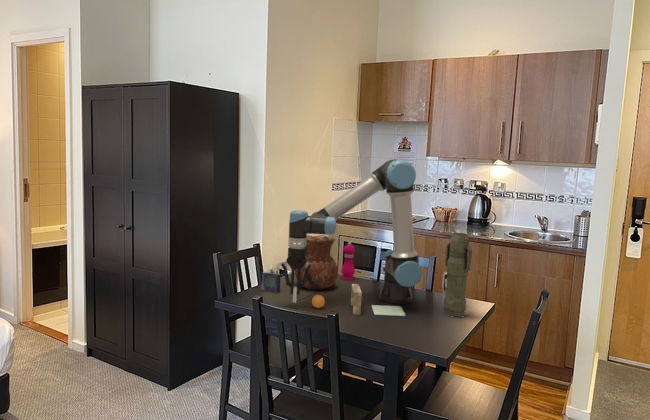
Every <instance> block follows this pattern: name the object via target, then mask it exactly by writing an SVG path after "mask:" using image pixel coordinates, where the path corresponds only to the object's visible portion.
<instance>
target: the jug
mask: <svg viewBox="0 0 650 420" xmlns="http://www.w3.org/2000/svg"><path fill="white" fill-rule="evenodd" d="M335 241H336V238H335V237H331V236H328V235H326V234H317V235H311V234H307V240H306V247H305V248H306V260H307V262H308V263H309V264H311V268H310V269H309V270H308V274H307V277H306V280H305V284H304V286H301V287H303V288H305V289H308V290H313V291H315V290H316V291H318V290H319V291H321V290H327V289H329V288H331V287H332V286H333V285H334V284H335V282H336V280H337V279H338V276H339V267H338V265H337V263H336V261H335V259H333V257H332V256H331V250H332V246H333V244H334V242H335ZM305 266H306V264H305V265H304V266H303V267H302V268H301V272H300V283H302V280H303V276H304V273H305V270H306V267H305ZM297 273H298V269H295V271H294V276H295V277H296V279H297Z"/></svg>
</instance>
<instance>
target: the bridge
mask: <svg viewBox="0 0 650 420" xmlns="http://www.w3.org/2000/svg"><path fill="white" fill-rule="evenodd" d="M350 292H351V293H350V306H352V315H356V316H357V315H359V316H360V315H361V311H362V309H361V307H362V294H363V293H362V290H361V287H360V284H359V283H352V284H351V291H350Z"/></svg>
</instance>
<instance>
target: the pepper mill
mask: <svg viewBox="0 0 650 420" xmlns="http://www.w3.org/2000/svg"><path fill="white" fill-rule="evenodd" d="M343 252H344V262H343V265H342V267H341V269H340V271H341V274H342V275H341V279H342V280H343V281H347V280H348V281H349V282H350V281H353V280H354V275H355V273H356V270H355V266H354V262H353V258H354V255H355V254H354V253H355V252H356V247H355V246H354V245H353V244H352V242H351V241H348V243H347V244H346V245H345V246H344V247H343ZM348 281H347V282H348Z"/></svg>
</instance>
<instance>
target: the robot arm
mask: <svg viewBox="0 0 650 420" xmlns="http://www.w3.org/2000/svg"><path fill="white" fill-rule="evenodd" d="M369 174H370V175H369V176H368V177H367V178H366V179H364V180H363V181H361V182H360V183H358V184H357V185H355V186H354V187H352V188H351V189H349V190H348V191H346V192H345V193H343V194H342V195H341V196H339V197H338V198H335V200H333V201H331V202H329V204H327V205H326V206H324V207H322V208H321V209H319V210H318V211H315V212H313V213H312V214H311V215H309V213H308V211H307V210H302V209H301V210H298V209H297V210H296V209H295V210H291V211H290V213H289V220H288V222H289V223H288V224H289V225H288V241H287V242H288V245H287V246H288V247H287V248H288V249H287V258H286V260H285V261H282V262H281V265H280V266H281V267H282V269H283V272H284V273H283V274H284V278H285V283H286V286H288V287H290V295H292V303H293V304H294V303H295V304H296V303H297V297H298V295H300V293H301V292H300V291H301V289H300V288H301V287H302V286H304V284H305V280H306V277H307V274H308V270H309V269H310V268H311V264H309V263H308V262H307V260H306V248H305V247H306V240H307V235H312V234H313V235H325V236H328V235H335V233H336V229H337V228H336V227H337V220H338V219H339V218H340V217H343V215H345V214H347V213H348V212H349V211H351V210H353V209H354V208H356V207H357V206H359V205H360V204H361V203H363V202H364V201H366V200H368V199H369V198H371V197H372V196H374V195H375V194H377V193H378V192H383V191H385V190H386V194H387V195H389V197H390V207H391V208H390V209H391V222H392V223H391V224H392V235H393V237H392V239H393V247H394V248H393V249H389V250H386V252H385V255H384V274H383V275H384V276H383V282H382V283H383V284H382V286H381V289H380V291H379V296H378V299H379V300H381V302H385V303H388V304H390V303H391V304H397V305H400V304H401V305H403V304H405V305H406V304H411V303H412V302H413V294H412V290H411V289H412V288H411V287H414V286H416V285H417V284H419V283H420V282H421V280H422V278H423V269H422V266H421V265H420V261H419V260H420V259H419V253H418V252H417V251H416V250H415V240H414V239H415V238H414V226H413V223H414V222H413V211H412V210H413V209H412V196H411V195H412V194H413V193H414V191H415V181H416V177H417V172H416V169H415V166H413V165H412V163H410V162H408V161H407V160H404V159H389V160H387V161H385V162H384V163H383V164H381V165H380V166H379V167H378V168H376V169H375V170H373V171H372V172H370V173H369ZM305 264H306V266H305V267H306V270H305V273H304V276H303V280H302V283H300V272H301V268H302V267H303V266H304V265H305ZM288 266H289V268H290V269H291V272H290V273H291V275H290V277H289V272H288V268H287V267H288ZM295 269H298V273H297V278H296V285H295Z"/></svg>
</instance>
